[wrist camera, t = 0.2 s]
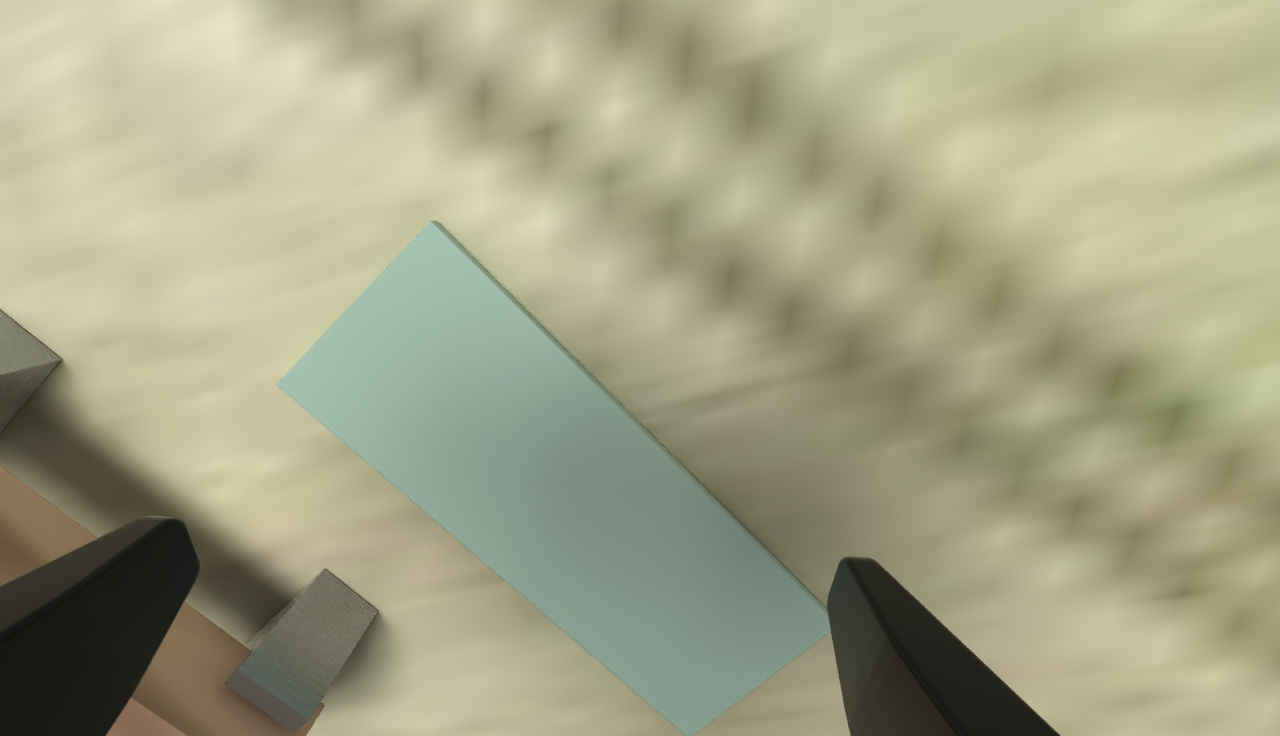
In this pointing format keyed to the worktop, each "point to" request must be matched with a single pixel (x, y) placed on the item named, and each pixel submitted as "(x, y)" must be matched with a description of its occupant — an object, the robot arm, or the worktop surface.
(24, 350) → the post
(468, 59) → the worktop surface
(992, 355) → the worktop surface
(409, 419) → the mat
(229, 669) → the rail
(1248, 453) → the worktop surface
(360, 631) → the post
